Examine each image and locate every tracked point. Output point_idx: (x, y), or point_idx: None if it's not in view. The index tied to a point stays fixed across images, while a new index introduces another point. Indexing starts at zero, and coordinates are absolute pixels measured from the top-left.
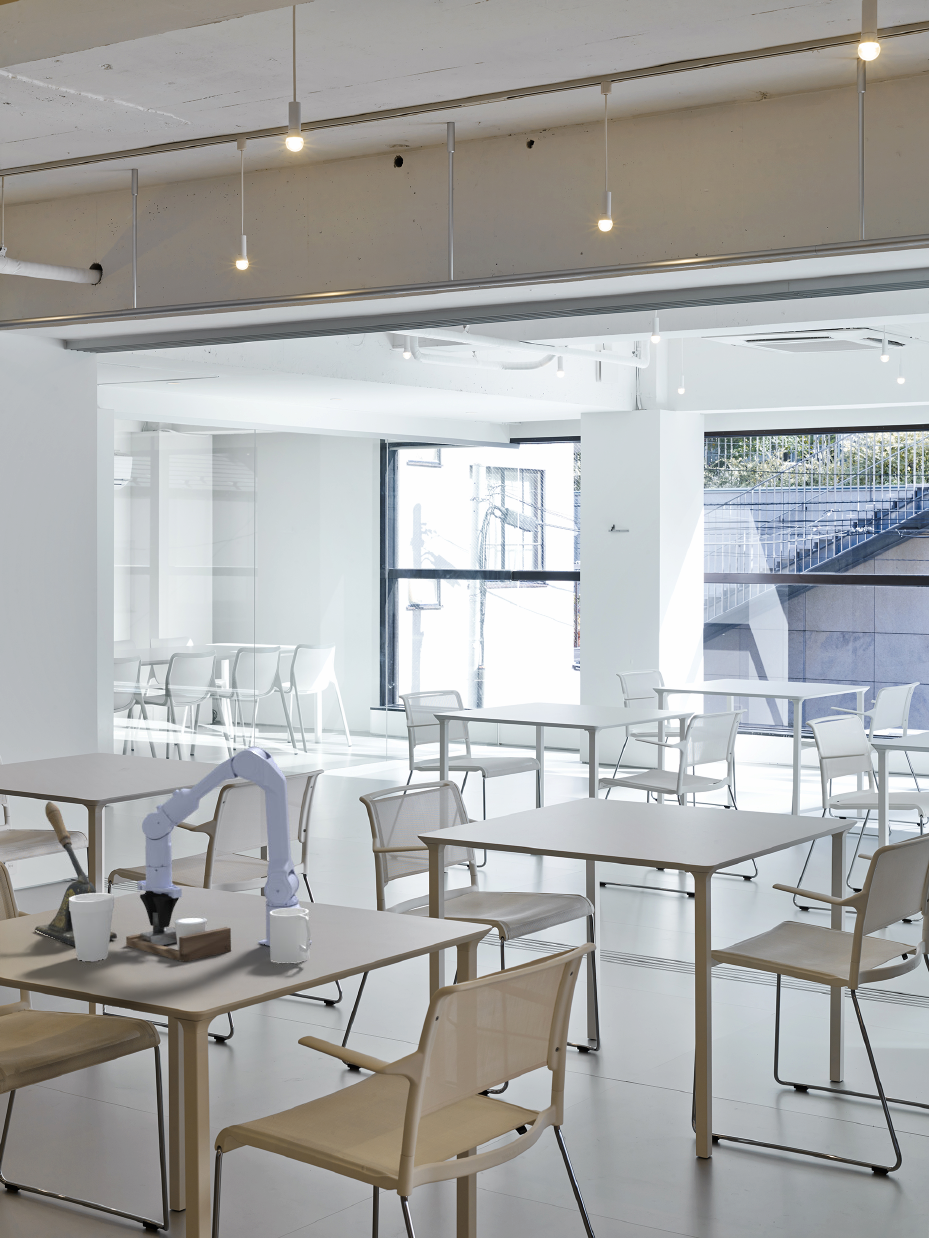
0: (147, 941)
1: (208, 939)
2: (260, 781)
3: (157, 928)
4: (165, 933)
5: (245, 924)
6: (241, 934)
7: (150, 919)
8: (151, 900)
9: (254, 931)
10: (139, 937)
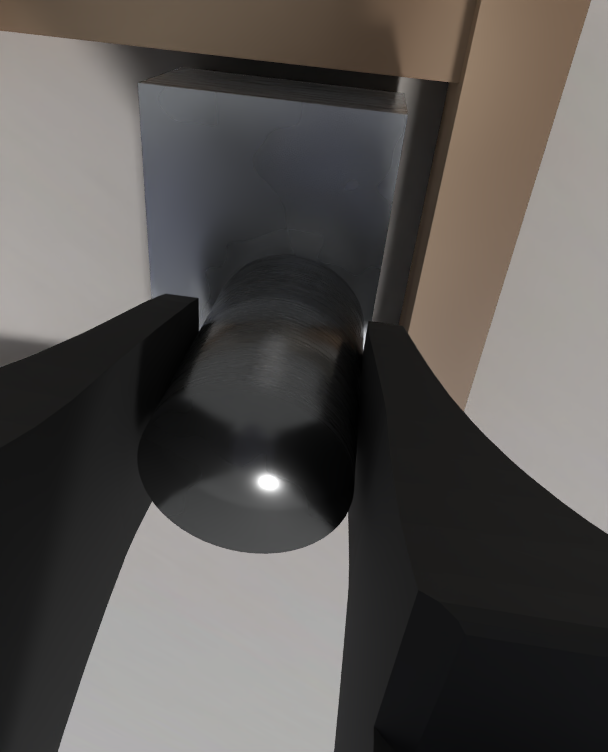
0: (243, 81)
1: None
2: None
3: (236, 286)
4: (158, 293)
5: (274, 746)
6: (102, 637)
7: (377, 346)
8: (372, 615)
9: (114, 686)
10: (448, 132)
